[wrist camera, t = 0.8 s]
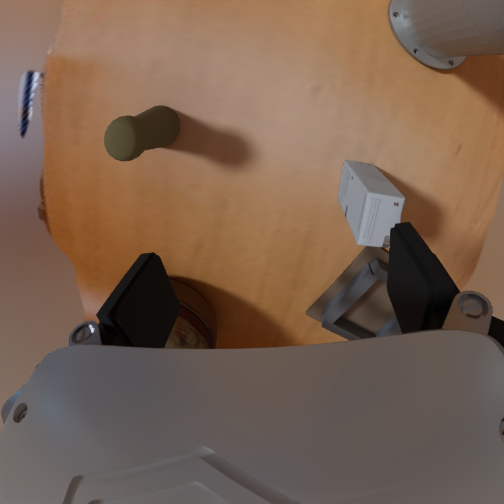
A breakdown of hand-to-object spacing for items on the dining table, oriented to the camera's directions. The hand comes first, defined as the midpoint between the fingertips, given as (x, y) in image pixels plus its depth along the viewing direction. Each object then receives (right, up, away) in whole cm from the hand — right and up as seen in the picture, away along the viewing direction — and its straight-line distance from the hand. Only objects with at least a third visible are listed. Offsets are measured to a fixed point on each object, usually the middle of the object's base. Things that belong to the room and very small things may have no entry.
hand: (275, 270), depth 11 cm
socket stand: (+20, -8, +35) cm, 41 cm away
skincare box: (+13, +10, +25) cm, 30 cm away
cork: (-13, +18, +24) cm, 33 cm away
